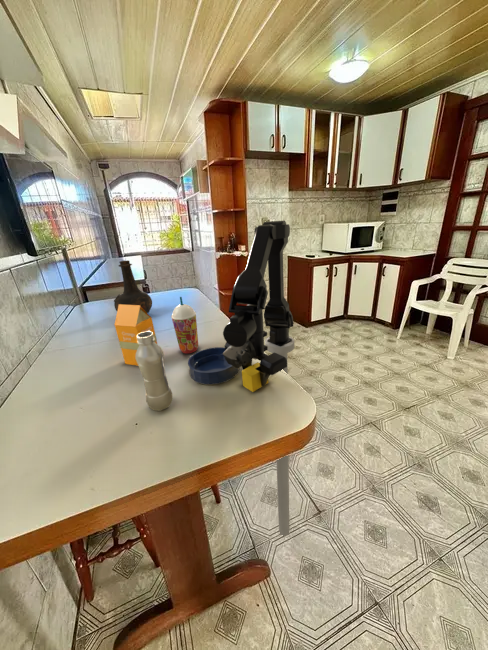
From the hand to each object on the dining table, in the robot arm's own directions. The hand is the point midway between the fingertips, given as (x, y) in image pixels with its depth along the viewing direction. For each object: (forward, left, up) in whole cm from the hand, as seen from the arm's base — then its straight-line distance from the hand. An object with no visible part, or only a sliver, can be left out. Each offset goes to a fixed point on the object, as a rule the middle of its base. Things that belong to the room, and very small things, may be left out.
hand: (255, 381), depth 74 cm
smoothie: (+2, -33, -1) cm, 33 cm away
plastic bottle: (+23, -11, -1) cm, 26 cm away
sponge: (0, 0, -1) cm, 1 cm away
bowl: (+4, -14, -1) cm, 15 cm away
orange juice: (+17, -39, -1) cm, 43 cm away
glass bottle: (+1, -89, -1) cm, 89 cm away
